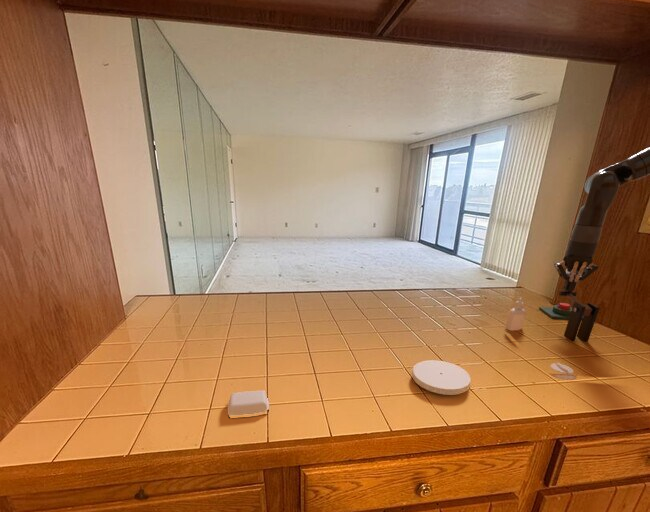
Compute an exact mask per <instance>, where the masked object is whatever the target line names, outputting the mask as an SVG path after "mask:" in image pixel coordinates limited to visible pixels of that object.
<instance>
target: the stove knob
mask: <svg viewBox="0 0 650 512" xmlns="http://www.w3.org/2000/svg"><path fill="white" fill-rule="evenodd" d="M549 367H550V368H551V370H553V371H555V372H557V373H549V375H550V376H552V377H554V378H557V379H559V380H566V381H573V380H576V379H577V376H578V375H577V374H573V373H574V370H573V368H571V367H570V366H568V365H565V364H562V363H560V362H556V363H552V364H550V366H549Z"/></svg>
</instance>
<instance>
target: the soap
mask: <svg viewBox="0 0 650 512" xmlns="http://www.w3.org/2000/svg"><path fill="white" fill-rule="evenodd" d="M266 395H267V393H266V390H264V389H260V390H248V391H246V390H245V391H239V392H232V393H231V394H230V396H229V399H230V400H229V399H228V402H229V403H228V402H227V416H228V415H243V414H254V413H259V412H265V411H267V410H268V409H269V410H270V400H269V401H268V399H269V397H268V398H267V396H268V395H267V396H266Z"/></svg>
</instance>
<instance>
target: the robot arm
mask: <svg viewBox="0 0 650 512" xmlns="http://www.w3.org/2000/svg"><path fill="white" fill-rule="evenodd" d="M648 176H650V146H649V147H647V148H645V149H643V150H641V151H639V152H637V153H635V154H633V155H631V156H629V157H627V158H626V159H624V160H621V161H619V162H617V163H615V164H612V165H610V166H608V167H607V166H606V167H605V168H603V169H600V170H599V171H596V172H595V173H593V174H592V175H590V176H588V178H587V179H586V181H585V183H584V191H585V193H587V196H586V198H585V202H584V204H583V206H581V207H580V209H579V211H578V214H577V217H576V220H575V223H574V227H573V229H572V231H571V234H570V238H569V241H568V243H567V244H568V245H567V247H566V252H565V256H564V257H563V258H562V260H561V261H559V262H555V263H554V264H553V266H554V267H555V269H556V272H557V273H558V275H559V277H560V278H561V279H563V280H565V281H564V285H563V286H562V287H563V288H562V289H563V291H565V292H575V289H576V286H577V283H578V282H579V281H585V280H586V279H587V278H588V277H590V276H591V275H592V274H593V273H595V271H597V270H598V269H599V266H598V265H596V264H594V259H593V257H594V256H595V254H596V250H597V247H598V244H599V241H600V239H601V236H602V232H603V227H604V223H605V220H606V217H607V214H608V211H609V208H610V207H611V205H612V204H613V201H614V200H615V197H616V196H617V193H618V191H619V189H620V188H619V187H621V186H623V185H625V184H627V183H630V182H636V181H638V180H640V179H644V178H645V177H648ZM565 268H566V270H565Z"/></svg>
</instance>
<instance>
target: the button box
mask: <svg viewBox="0 0 650 512" xmlns="http://www.w3.org/2000/svg"><path fill="white" fill-rule="evenodd" d="M558 306H559V304H554V305H553V306H552V307H548V306H539V307H538V310H539V311H541V312H542V313H543V314H544V315H546V316H548V317H549V318H550V319H552V320H566V321H569V317H570V314H571V311H572V308H573V307H571V306H570V309H569V310H564V309H560V308H558ZM582 318H583V317H582Z"/></svg>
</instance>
